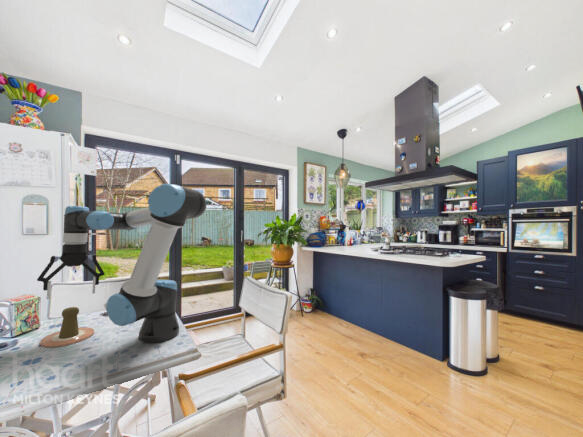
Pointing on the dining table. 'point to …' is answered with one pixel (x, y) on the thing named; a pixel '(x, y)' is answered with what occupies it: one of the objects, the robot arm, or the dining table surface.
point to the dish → (55, 341)
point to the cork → (69, 323)
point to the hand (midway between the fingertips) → (72, 295)
